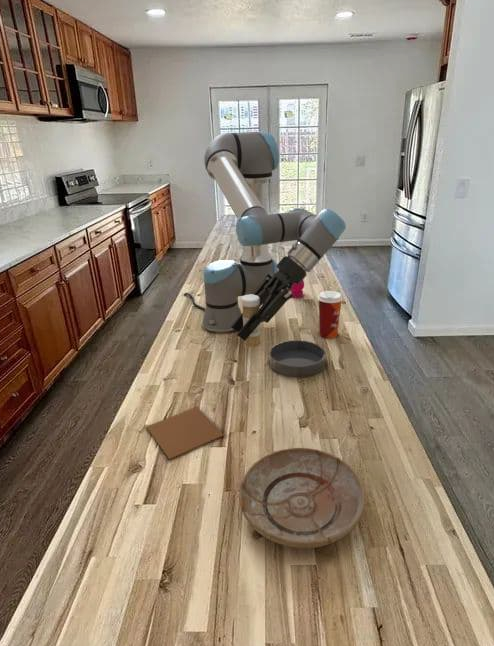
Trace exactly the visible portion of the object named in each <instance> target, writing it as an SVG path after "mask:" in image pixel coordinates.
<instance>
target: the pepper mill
mask: <svg viewBox="0 0 494 646" xmlns="http://www.w3.org/2000/svg"><path fill="white" fill-rule="evenodd" d="M304 281H305V280H304V279H303V280H302V281H301V283H300V284H298V285H297V284H295V283H294V284H293V286H292V288H291V289H290V290H291V292H292V293H293V294H294V295H293V296H292V297H291V298H301V297H303V296H304V290H303V289H304V288H305V282H304Z"/></svg>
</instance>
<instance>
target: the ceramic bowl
mask: <svg viewBox="0 0 494 646" xmlns="http://www.w3.org/2000/svg"><path fill="white" fill-rule="evenodd" d="M238 499H239V505H240V509H241V512H242V515H243V516H244V518H245V520H246V521H247V523H248V524H249V525H250V526H251V527H252V528H253V530H254V531H256V533H258V534H260V535H261V536H262V537H264V538H266V539H267V540H269V541H271V542H273V543H275V544H279V545H281V546H284V547H289V548H294V549H315V548H322V547H325V546H329V545H330V544H333V543H335V542H337V541H339V540H341V539H343V538H345V537H346V536H348V535H349V534H350V533H351V532H352V531H353V530H354V529H355V528H356V527H357V525H358V524H359V522H360V520H361V518H362V516H363V514H364V511H365V506H366V492H365V488H364V484H363V483H362V479H361V478H360V476H359V475H358V473H357V472H356V470H354V469H353V467H352V466H351V465H349V464H348V463H347V462H346V461H344V460H343V459H342V458H340V457H338V456H336V455H334V454H331V453H329V452H327V451H324V450H320V449H315V448H310V447H309V448H308V447H291V448H285V449H280V450H276V451H273V452H270V453H268V454H267V455H265V456H262V457H260V458H259V459H257V461H255V462H254V463H253V464H252V465H251V466H250V467H249V468H248V470H247V471H246V472H245V474H244V476H243V478H242V480H241V482H240V487H239V491H238Z"/></svg>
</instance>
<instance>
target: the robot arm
mask: <svg viewBox="0 0 494 646" xmlns="http://www.w3.org/2000/svg"><path fill="white" fill-rule="evenodd" d="M203 157H204V159H203V161H204V168H205V170H206V172H207V174H208V176H209V177H210V178H211V179H212V180H213V181H216V183H217V185H218V187H219V188H220V190H221V193H222V194H223V196H224V197H225V199H226V200H227V203H228V204H229V206H230V208H231V210H232V211H233V214H234V216H235V217H236V219H237V221H236V222H235V223H236V224H235V233H236V236H237V241H238V243H239V244H240V245H242V246H243V253H242V254H240V256H239V263H237V262H236V261H235V260H233V259H222V260H216V261H213V262H211V263H209V264H207V265H206V266H205V267H204V269H203V285H204V296H205V307H204V306H201V305H199V304H197V303H196V302H195V297H194V296H193V295H192V294H191V293H189V292H184V294H183V296H188V297H190V298H191V301H192V304H193V306H195V307H196V308H198V309H199V310H200V309H201V310H202V311H204V313H203V317H202V327H203V329H204V330H205V331H206V332H210V333H214V334H227V333H228V334H229V333H234V332H236V336H237V337H238V338H240V339H241V340H243V342H244V341H245V340H246V339H247V338H248V337H249V336H250V334H251V333H252V332H253V331H254V330H255V329H256V328H257V327H258V325H259V324H260V325H261V323H266V324H268V323H269V322H270V321H271V320H272V319H273V317H275V316H276V314H277V313H278V312H279V311H280V310H281V308H282V307H283V306H284V305H285V304H286V303H287V302H288V301H289V300H290V299H291V298H293V297H292V296H293V295H294V294H293V293H292V292H291V290H290V289H291V288H292V286H293V284H294V283H295V284H297V285H298V284H300V283H301V281H302V280H303V281H304V279H305V278H306V277H307V273H311V271H313V269H314V268H315V266H316V265H317V264H318V263H319V262H320V260H321V259H322V258H323V257H324V256H325V255H326V254H327V253H328V251H329V250H330V249H331V248H332V247H333V245H335V243H336V242H337V241H338V240H339V239H340V237H341V236H342V234H343V233H344V232H345V230H346V228H347V225H346V222H345V221H344V220H343V218H342V217H341V216H340V215H339V214H338V213H337V212H335V210H334V211H333V209H330V208H324V209H323V210H321V212H319V213H318V215H317V214H315V213H314V212H313V213H312V212H311V211H309V210H307V209H305V208H301V207H293V208H290V209H289V210H288V211H287V212H278V213H277V212H276V213H269V196H268V195H269V193H268V192H269V191H268V185H269V184H268V183H269V181H270V180H271V179H272V178H273V171H275V170H277V169H278V167H279V163H280V152H279V146H278V144H277V141H276V139H275V137H274V136H273V135H272V134H271V133H270V132H267V131H259V130H258V131H244V132H225V133H221V134H219V135H217V136H215V137H214V138H213V139H212V140H211V141H210V142H209V143H208V145H207V147H206V150H205V152H204V156H203ZM294 241H296V242H295V243H293V244H292V247H291V248H290V249H289V250H288V251H287V255H284V256H283V257H282V258H281V259H280V260H279V262H277V261H276V260H275V259H274V258H273V255H272V254H271V253H270V252H269V245H271V244H277V243H286V242H294ZM245 295H257V296H259V299H260V304H259V311H258V312H257V314H255V313H253V316H252V317H251V318H250V319H249V320H248V321H247V323H246V324H245V325H244V326H243V312H242V310H241V308H240V305H239V297H243V296H245Z"/></svg>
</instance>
